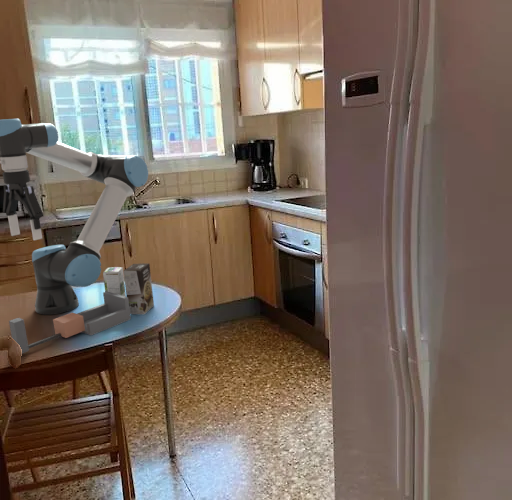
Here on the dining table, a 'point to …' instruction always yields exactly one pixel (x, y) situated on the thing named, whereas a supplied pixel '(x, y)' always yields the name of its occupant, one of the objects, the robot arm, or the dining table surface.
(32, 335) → the dining table surface
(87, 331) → the tray
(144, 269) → the coffee box
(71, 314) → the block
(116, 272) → the syrup box
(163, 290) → the dining table surface
